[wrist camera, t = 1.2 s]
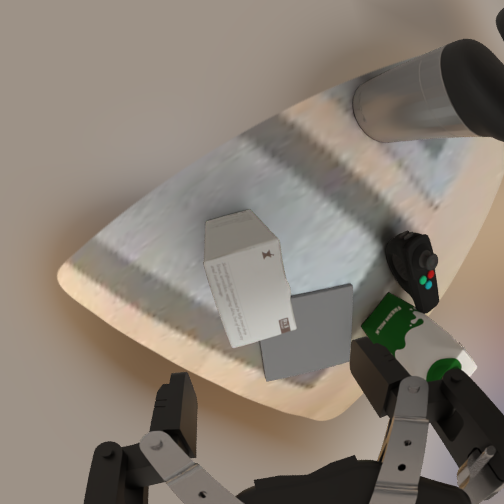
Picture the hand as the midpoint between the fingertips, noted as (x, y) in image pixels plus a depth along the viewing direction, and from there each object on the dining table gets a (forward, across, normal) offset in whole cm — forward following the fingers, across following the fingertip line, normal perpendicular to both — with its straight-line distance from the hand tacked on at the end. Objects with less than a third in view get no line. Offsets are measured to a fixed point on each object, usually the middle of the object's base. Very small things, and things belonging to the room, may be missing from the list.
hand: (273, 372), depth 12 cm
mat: (+23, -8, +15) cm, 29 cm away
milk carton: (+23, -22, +16) cm, 36 cm away
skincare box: (+24, 0, 0) cm, 24 cm away
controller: (+23, -23, +6) cm, 33 cm away
